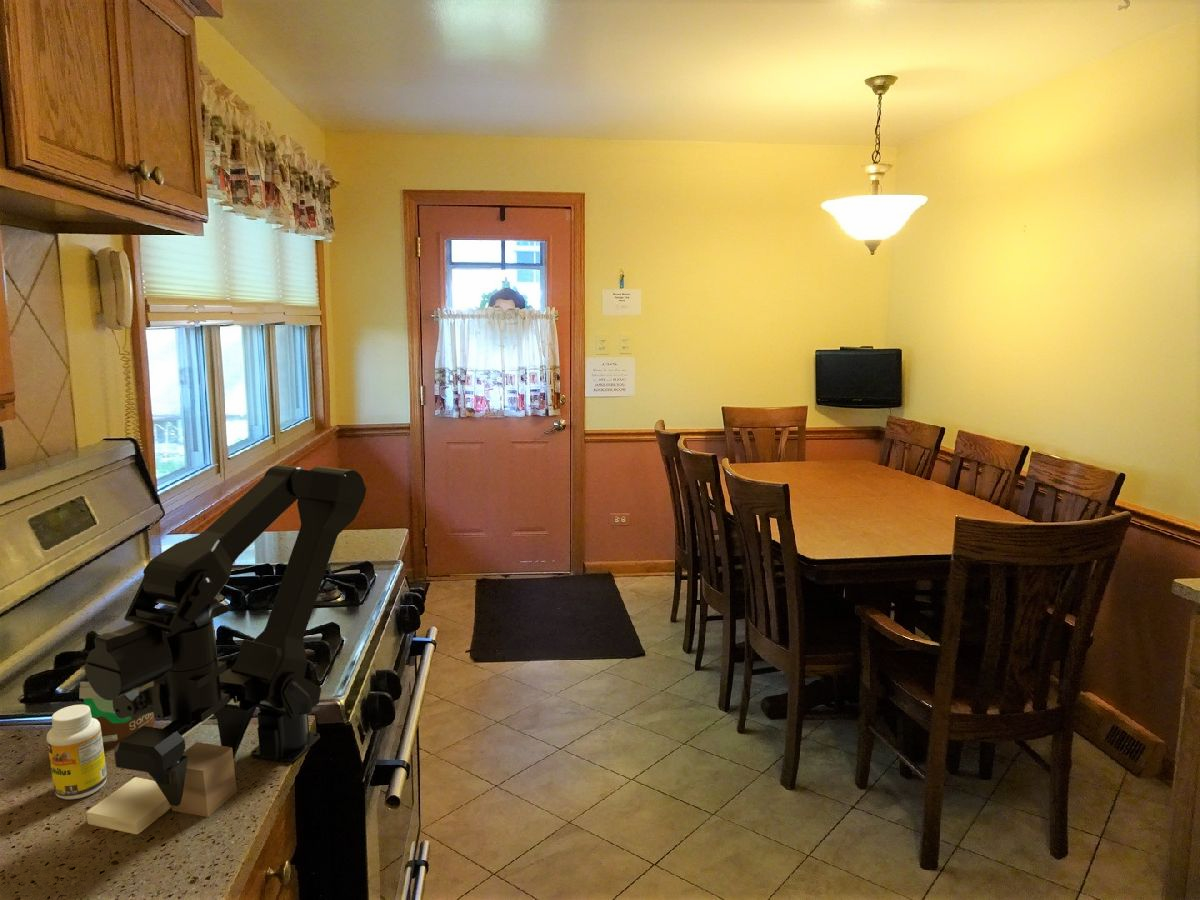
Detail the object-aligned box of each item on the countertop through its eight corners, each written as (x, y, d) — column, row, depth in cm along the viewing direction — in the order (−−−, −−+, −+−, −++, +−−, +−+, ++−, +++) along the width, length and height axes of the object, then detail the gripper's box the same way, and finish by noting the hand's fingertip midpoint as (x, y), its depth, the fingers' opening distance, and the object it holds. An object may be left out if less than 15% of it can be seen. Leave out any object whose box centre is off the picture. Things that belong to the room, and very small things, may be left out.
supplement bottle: (45, 793, 100) (33, 716, 98) (91, 770, 105) (81, 696, 103) (70, 807, 98) (59, 728, 96) (117, 783, 102) (107, 707, 100)
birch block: (136, 791, 101) (135, 777, 101) (184, 801, 99) (182, 786, 99) (88, 827, 95) (86, 811, 94) (138, 838, 93) (136, 822, 92)
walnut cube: (201, 786, 102) (196, 742, 101) (236, 791, 101) (232, 747, 99) (172, 810, 97) (166, 764, 96) (208, 817, 96) (203, 770, 95)
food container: (133, 754, 108) (124, 684, 106) (87, 754, 109) (77, 684, 107) (181, 707, 121) (174, 643, 119) (140, 707, 121) (132, 643, 119)
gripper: (188, 622, 106) (200, 732, 109) (64, 690, 88) (82, 820, 91) (264, 630, 103) (274, 743, 106) (151, 703, 86) (167, 835, 89)
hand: (203, 781), depth 98 cm, fingers open, 9 cm apart
